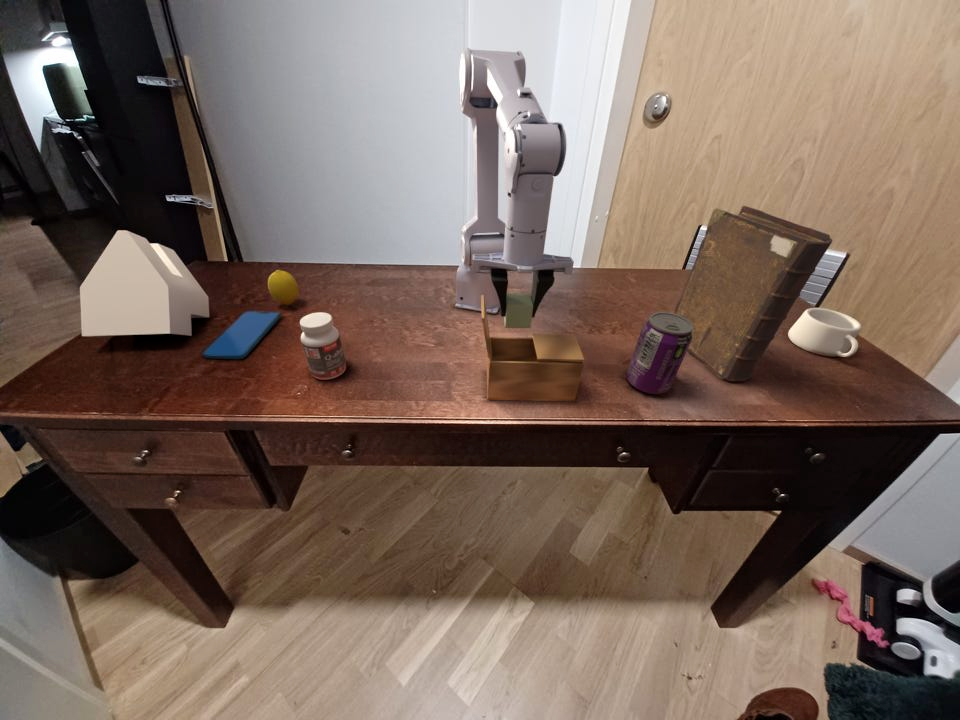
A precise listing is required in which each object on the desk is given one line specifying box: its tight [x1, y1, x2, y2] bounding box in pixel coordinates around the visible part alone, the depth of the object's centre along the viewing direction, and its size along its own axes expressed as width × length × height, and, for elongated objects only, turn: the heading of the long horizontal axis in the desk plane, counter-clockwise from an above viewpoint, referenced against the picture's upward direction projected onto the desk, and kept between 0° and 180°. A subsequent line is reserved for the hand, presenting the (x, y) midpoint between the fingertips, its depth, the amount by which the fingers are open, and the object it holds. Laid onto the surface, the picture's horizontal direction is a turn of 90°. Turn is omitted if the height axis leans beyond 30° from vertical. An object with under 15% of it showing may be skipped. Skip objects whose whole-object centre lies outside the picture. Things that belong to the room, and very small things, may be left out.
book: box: [673, 205, 833, 382], centre depth 61 cm, size 17×7×25 cm, turn 9°
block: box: [503, 293, 533, 329], centre depth 58 cm, size 4×4×4 cm
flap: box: [481, 295, 491, 358], centre depth 53 cm, size 7×7×1 cm
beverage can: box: [625, 311, 693, 395], centre depth 58 cm, size 7×7×12 cm
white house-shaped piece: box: [79, 229, 210, 339], centre depth 68 cm, size 14×11×18 cm
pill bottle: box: [299, 311, 347, 381], centre depth 59 cm, size 6×6×10 cm
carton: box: [486, 333, 585, 402], centre depth 58 cm, size 14×7×8 cm, turn 90°
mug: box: [787, 307, 862, 358], centre depth 71 cm, size 12×10×6 cm
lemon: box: [267, 269, 299, 306], centre depth 77 cm, size 6×6×8 cm
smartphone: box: [202, 310, 282, 360], centre depth 69 cm, size 7×1×15 cm
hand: (517, 313), depth 58 cm, fingers closed on block, 4 cm apart
